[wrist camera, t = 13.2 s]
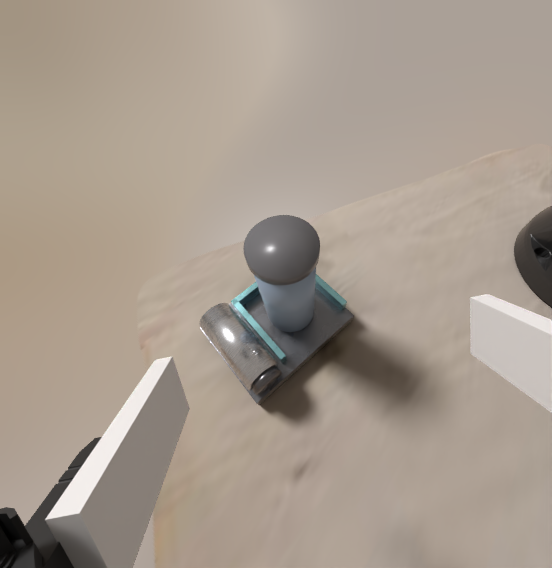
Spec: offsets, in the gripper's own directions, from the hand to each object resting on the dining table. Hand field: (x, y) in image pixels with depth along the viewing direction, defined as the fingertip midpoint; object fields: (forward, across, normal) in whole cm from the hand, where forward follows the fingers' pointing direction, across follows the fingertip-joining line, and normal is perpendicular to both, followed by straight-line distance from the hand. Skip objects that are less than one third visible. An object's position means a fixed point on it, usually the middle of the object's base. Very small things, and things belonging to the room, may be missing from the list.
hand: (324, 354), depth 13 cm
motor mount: (+18, -3, -6) cm, 19 cm away
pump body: (+18, -1, -5) cm, 18 cm away
